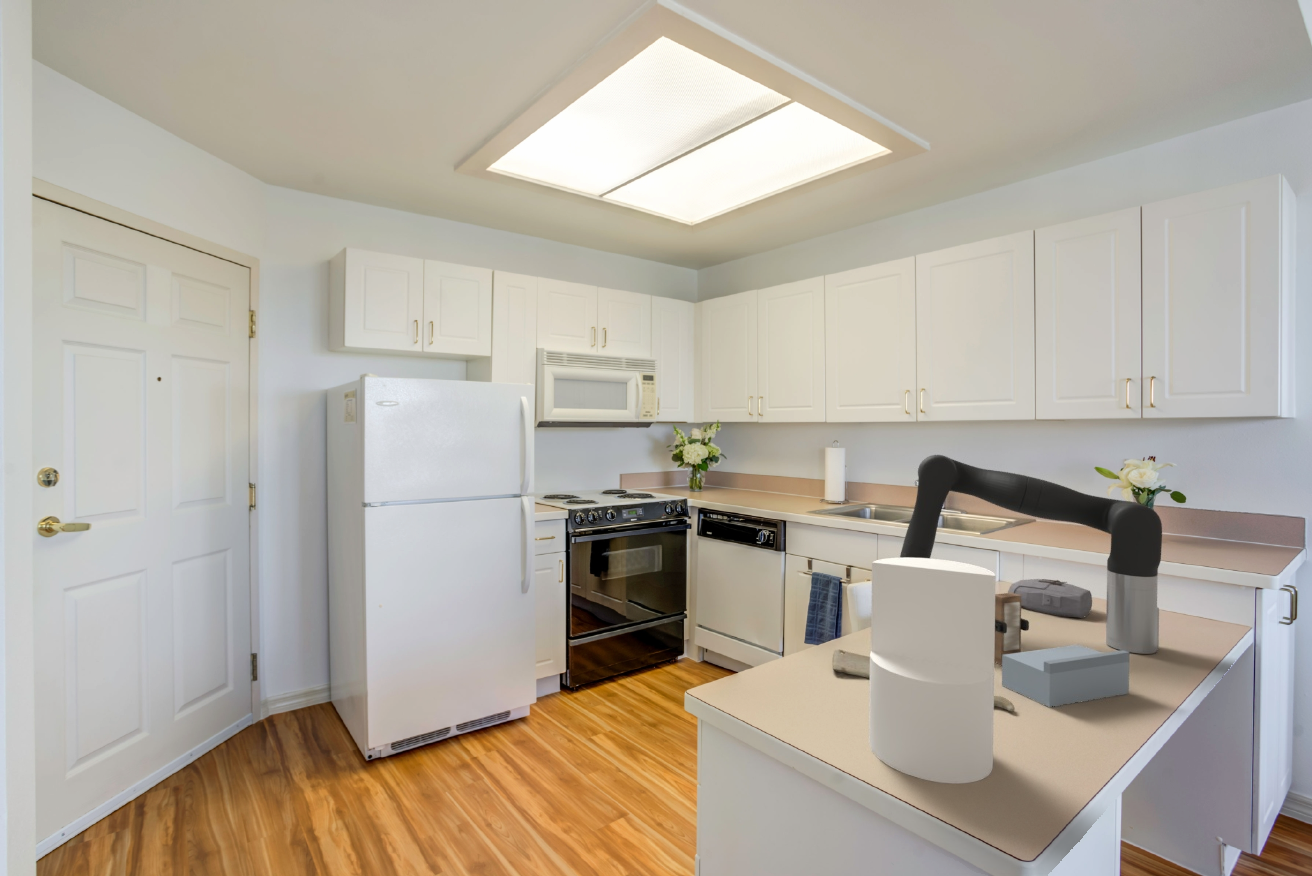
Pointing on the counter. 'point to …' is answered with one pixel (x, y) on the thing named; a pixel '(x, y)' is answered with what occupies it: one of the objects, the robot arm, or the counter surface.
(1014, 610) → the brown wooden block
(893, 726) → the cylinder
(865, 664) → the decorative wall piece
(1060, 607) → the grey rounded bag
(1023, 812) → the counter surface
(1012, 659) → the display riser
